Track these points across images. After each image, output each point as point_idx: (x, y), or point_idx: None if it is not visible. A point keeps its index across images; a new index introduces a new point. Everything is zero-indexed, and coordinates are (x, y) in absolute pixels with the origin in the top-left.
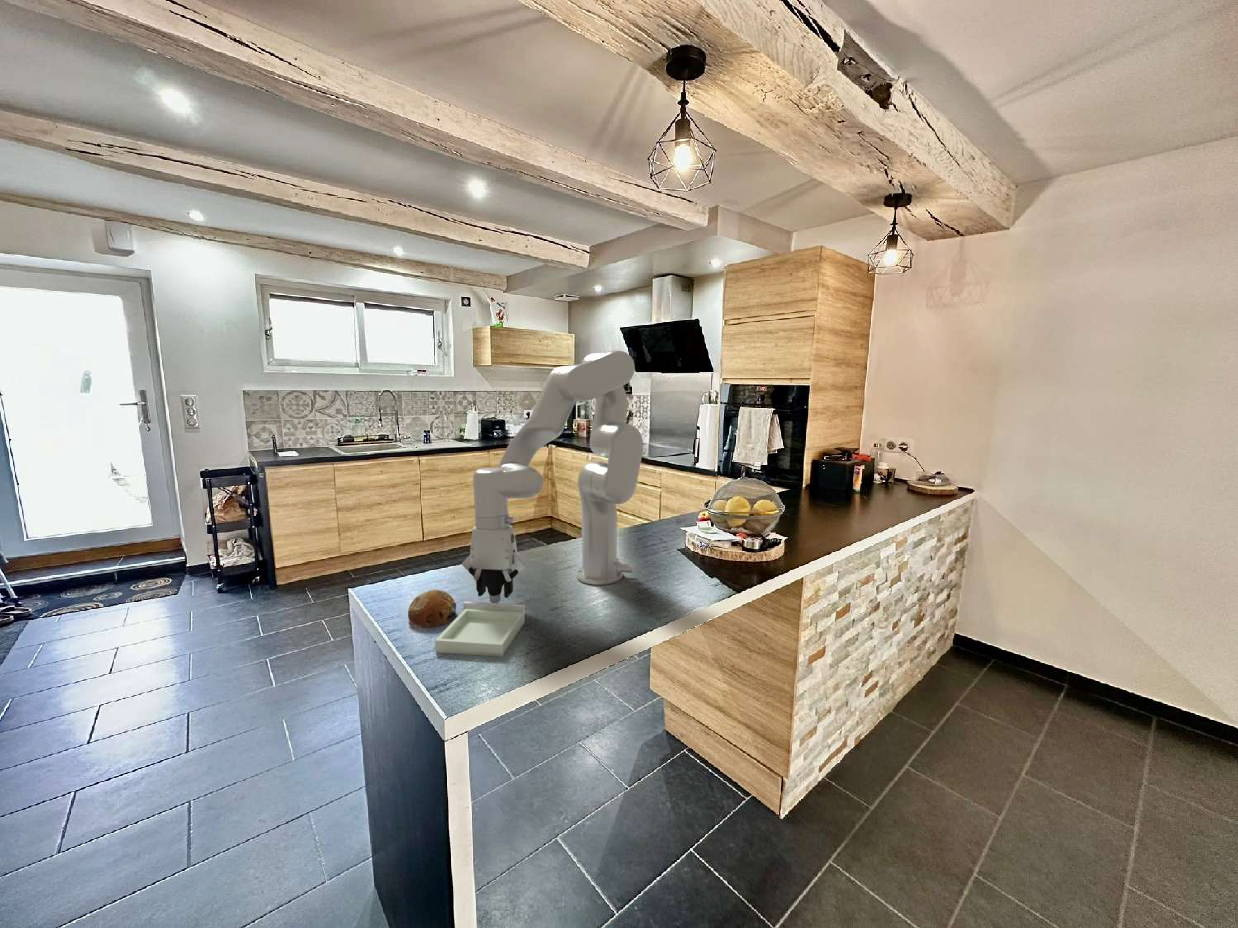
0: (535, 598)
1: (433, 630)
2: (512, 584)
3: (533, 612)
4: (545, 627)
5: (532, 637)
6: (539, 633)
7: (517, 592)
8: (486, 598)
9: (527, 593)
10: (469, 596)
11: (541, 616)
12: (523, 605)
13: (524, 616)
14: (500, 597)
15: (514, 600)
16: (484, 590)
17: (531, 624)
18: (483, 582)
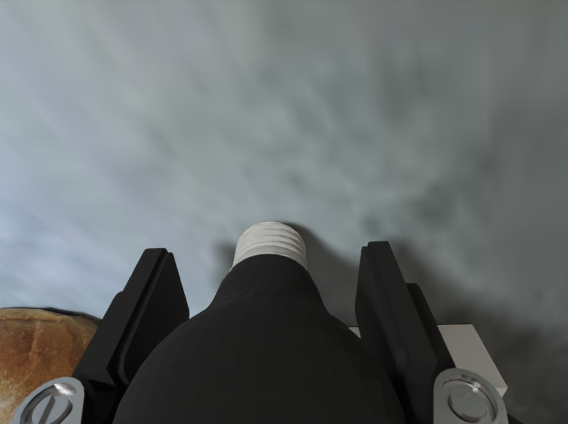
0: (543, 113)
1: None
2: (435, 334)
3: (517, 283)
4: (564, 369)
5: (507, 412)
6: (534, 396)
7: (371, 13)
8: (167, 170)
9: (472, 21)
10: (24, 159)
11: (558, 308)
12: (502, 392)
13: (473, 332)
14: (305, 255)
15: (380, 169)
16: (172, 284)
17: (504, 360)
18: None
